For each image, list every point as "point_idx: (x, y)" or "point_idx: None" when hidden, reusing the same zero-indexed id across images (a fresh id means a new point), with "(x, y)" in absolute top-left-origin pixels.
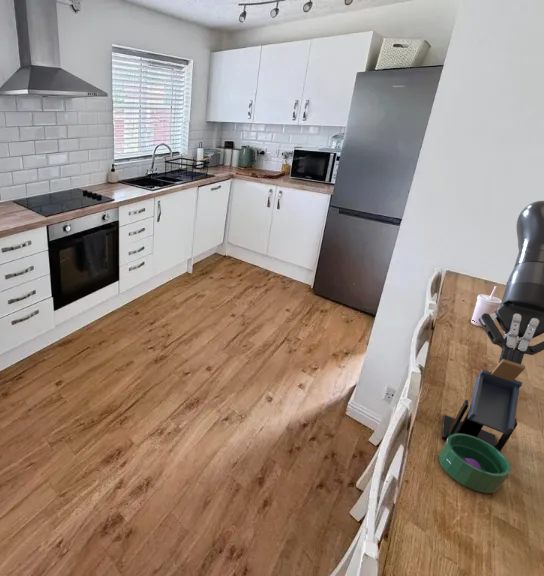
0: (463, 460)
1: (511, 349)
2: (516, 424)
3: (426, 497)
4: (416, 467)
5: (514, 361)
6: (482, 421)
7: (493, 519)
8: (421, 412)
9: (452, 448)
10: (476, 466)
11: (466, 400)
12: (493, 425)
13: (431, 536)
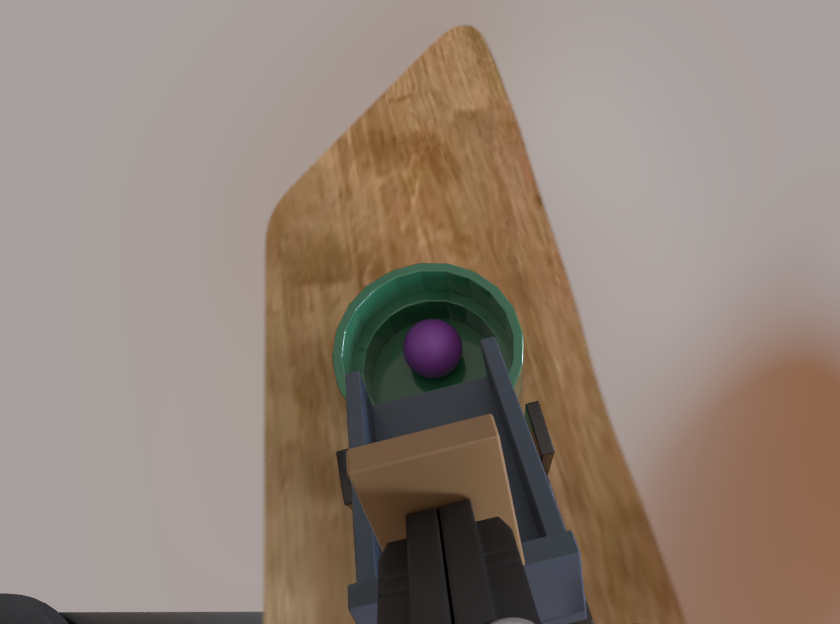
0: (451, 269)
1: (483, 618)
2: (339, 451)
3: (485, 194)
4: (544, 267)
5: (424, 545)
6: (452, 391)
7: (350, 265)
8: (673, 594)
9: (493, 296)
10: (417, 329)
11: (547, 446)
12: (413, 403)
13: (440, 113)
